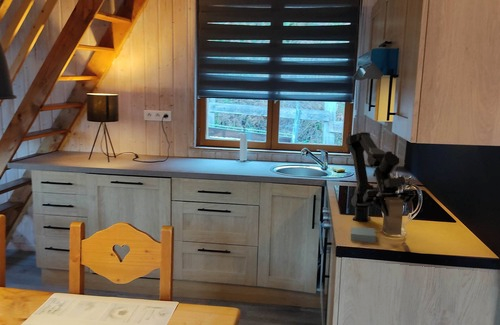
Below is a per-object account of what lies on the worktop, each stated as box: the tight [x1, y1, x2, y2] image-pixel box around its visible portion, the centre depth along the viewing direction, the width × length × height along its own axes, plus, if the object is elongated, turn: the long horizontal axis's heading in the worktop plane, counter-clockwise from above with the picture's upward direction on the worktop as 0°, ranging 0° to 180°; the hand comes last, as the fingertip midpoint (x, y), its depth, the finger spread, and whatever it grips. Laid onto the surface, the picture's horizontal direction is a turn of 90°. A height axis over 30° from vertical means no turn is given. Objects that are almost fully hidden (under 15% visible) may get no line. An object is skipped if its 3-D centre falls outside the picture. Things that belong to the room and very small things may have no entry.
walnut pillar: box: [382, 197, 405, 236], centre depth 167 cm, size 5×5×13 cm
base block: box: [350, 226, 377, 243], centre depth 173 cm, size 9×9×3 cm
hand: (394, 215), depth 166 cm, fingers closed on walnut pillar, 5 cm apart
